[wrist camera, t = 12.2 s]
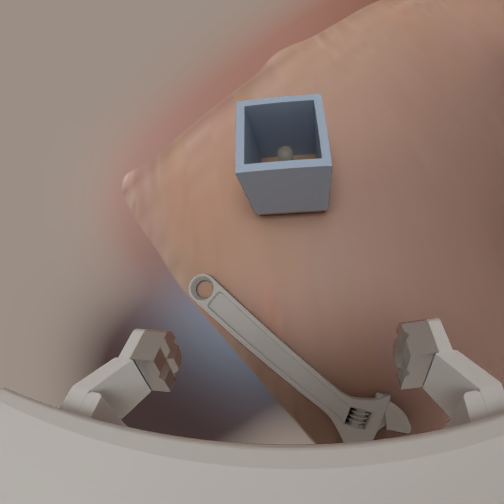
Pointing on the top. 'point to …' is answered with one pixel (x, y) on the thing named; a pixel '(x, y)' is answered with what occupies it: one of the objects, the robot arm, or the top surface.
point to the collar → (267, 144)
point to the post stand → (285, 155)
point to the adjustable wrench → (301, 370)
